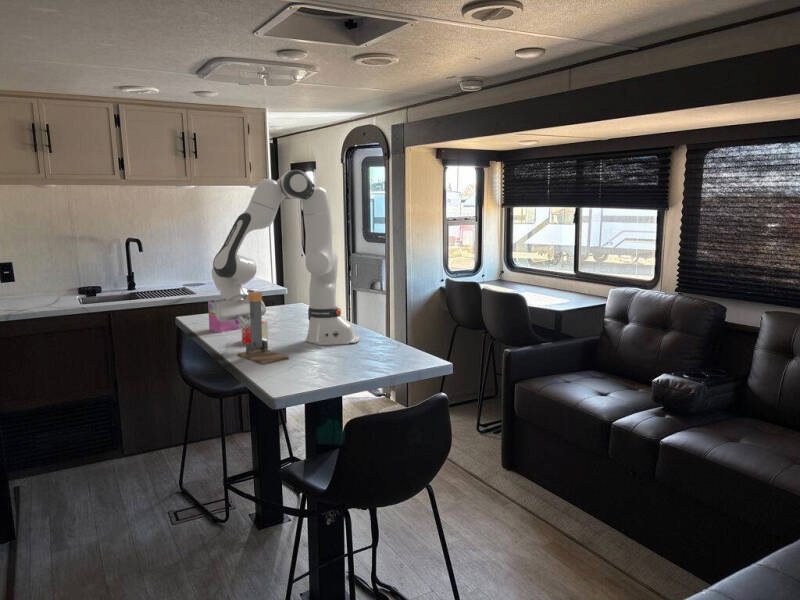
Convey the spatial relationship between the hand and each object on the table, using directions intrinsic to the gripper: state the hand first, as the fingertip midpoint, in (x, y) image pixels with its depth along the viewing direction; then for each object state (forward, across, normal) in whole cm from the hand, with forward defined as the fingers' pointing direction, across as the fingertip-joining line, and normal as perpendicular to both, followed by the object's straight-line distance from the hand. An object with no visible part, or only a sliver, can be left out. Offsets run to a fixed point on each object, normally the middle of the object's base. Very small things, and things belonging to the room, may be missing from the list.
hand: (248, 326), depth 230 cm
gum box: (-23, +19, +38) cm, 49 cm away
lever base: (+14, 0, +1) cm, 14 cm away
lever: (+9, 0, +1) cm, 9 cm away
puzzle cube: (-3, +11, +18) cm, 21 cm away
